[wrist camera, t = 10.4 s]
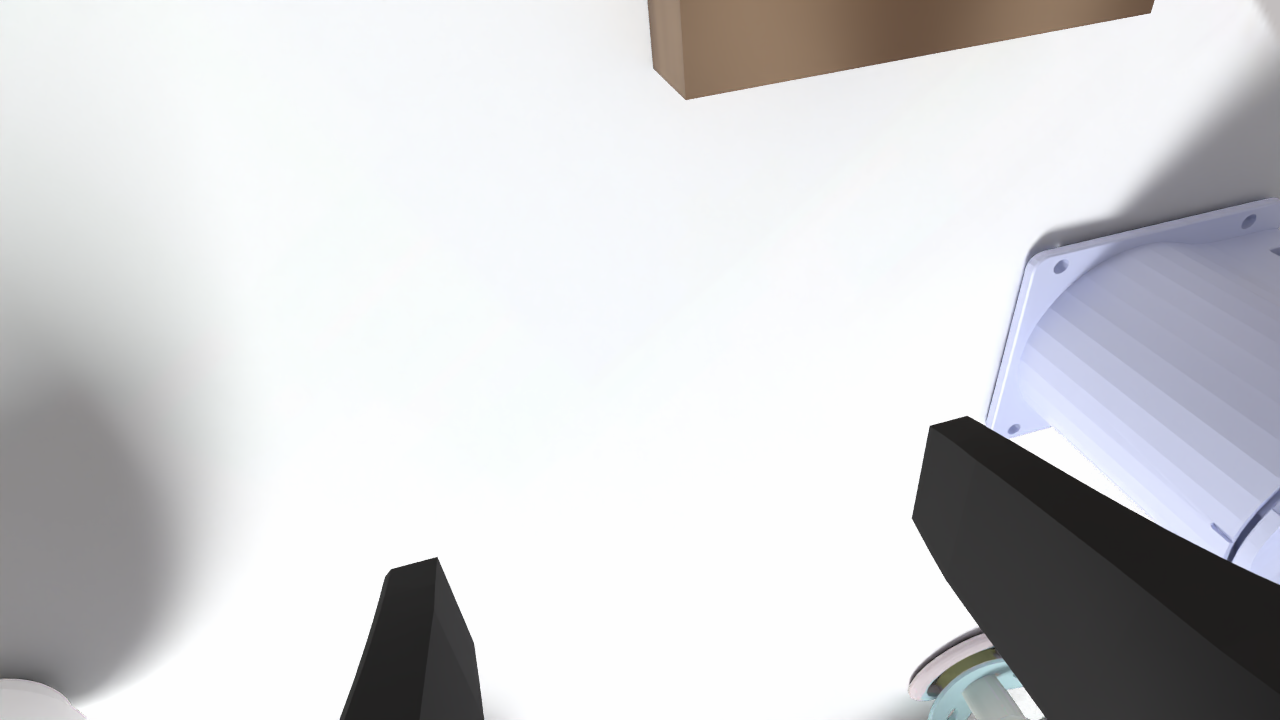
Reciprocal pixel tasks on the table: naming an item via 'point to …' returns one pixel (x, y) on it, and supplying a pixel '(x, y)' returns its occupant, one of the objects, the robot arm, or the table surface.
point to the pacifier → (968, 683)
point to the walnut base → (839, 34)
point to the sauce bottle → (34, 702)
